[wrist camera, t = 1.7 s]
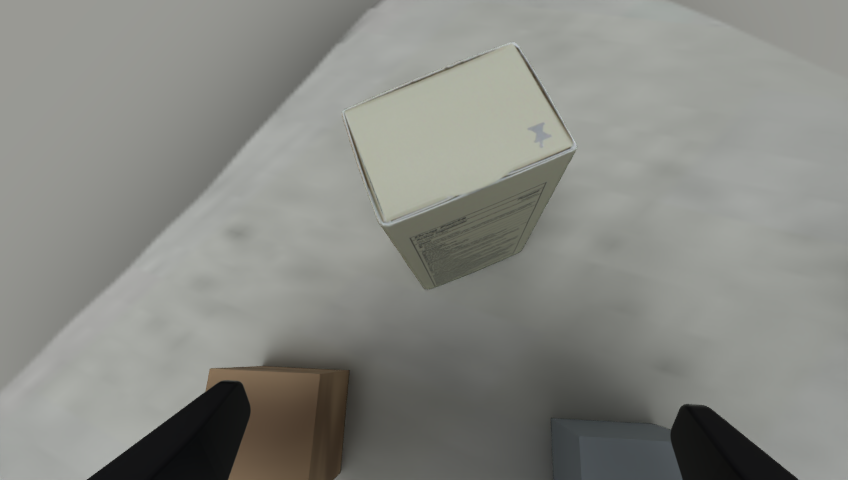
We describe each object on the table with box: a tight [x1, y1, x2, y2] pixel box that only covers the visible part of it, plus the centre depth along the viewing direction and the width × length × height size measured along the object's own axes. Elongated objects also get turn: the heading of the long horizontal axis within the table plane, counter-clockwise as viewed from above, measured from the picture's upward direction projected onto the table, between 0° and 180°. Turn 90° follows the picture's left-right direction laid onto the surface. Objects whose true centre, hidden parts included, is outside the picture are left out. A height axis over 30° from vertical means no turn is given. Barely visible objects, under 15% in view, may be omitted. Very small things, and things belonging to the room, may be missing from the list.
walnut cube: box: [206, 366, 350, 480], centre depth 19 cm, size 5×5×5 cm
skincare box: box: [342, 42, 577, 290], centre depth 18 cm, size 6×4×12 cm
